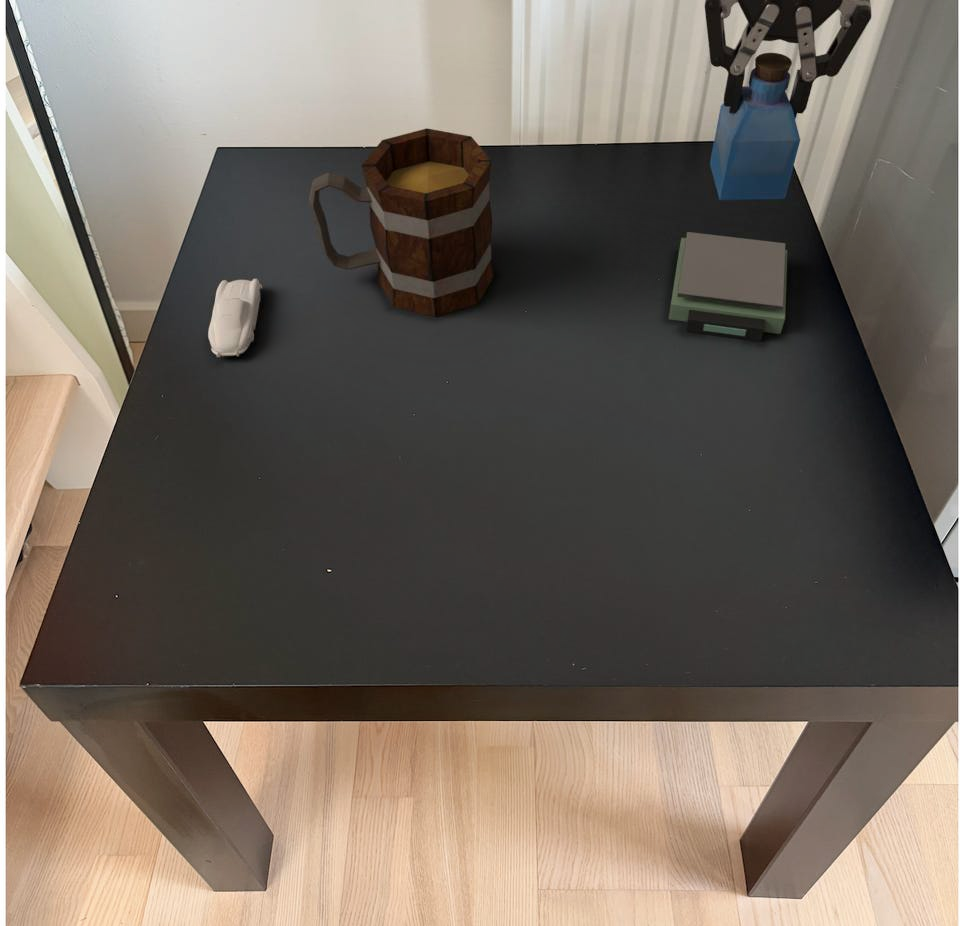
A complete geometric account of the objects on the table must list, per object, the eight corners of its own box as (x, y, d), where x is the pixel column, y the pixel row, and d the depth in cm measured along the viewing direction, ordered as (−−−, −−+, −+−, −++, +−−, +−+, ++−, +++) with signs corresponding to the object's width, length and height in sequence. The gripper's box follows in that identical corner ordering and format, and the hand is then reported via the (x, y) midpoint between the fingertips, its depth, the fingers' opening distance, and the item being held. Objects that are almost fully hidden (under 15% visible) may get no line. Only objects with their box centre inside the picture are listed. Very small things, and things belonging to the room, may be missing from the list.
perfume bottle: (784, 198, 87) (817, 78, 78) (719, 199, 87) (744, 79, 78) (772, 162, 91) (801, 43, 82) (709, 163, 91) (732, 45, 82)
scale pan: (783, 251, 103) (785, 243, 102) (780, 314, 96) (783, 306, 96) (685, 240, 105) (687, 231, 104) (676, 301, 98) (677, 292, 97)
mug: (491, 240, 110) (489, 125, 98) (496, 314, 101) (494, 198, 90) (329, 246, 110) (308, 133, 98) (320, 321, 101) (295, 206, 90)
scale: (783, 265, 105) (787, 249, 103) (780, 345, 97) (784, 330, 95) (678, 252, 107) (681, 237, 105) (666, 330, 99) (669, 314, 97)
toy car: (264, 288, 105) (258, 264, 102) (252, 361, 97) (245, 337, 95) (223, 290, 105) (215, 267, 102) (207, 363, 97) (199, 339, 95)
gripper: (712, -81, 69) (680, 126, 82) (909, -69, 67) (844, 141, 80) (718, -117, 74) (687, 85, 87) (903, -107, 71) (842, 98, 85)
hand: (762, 111), depth 83 cm, fingers closed on perfume bottle, 4 cm apart
